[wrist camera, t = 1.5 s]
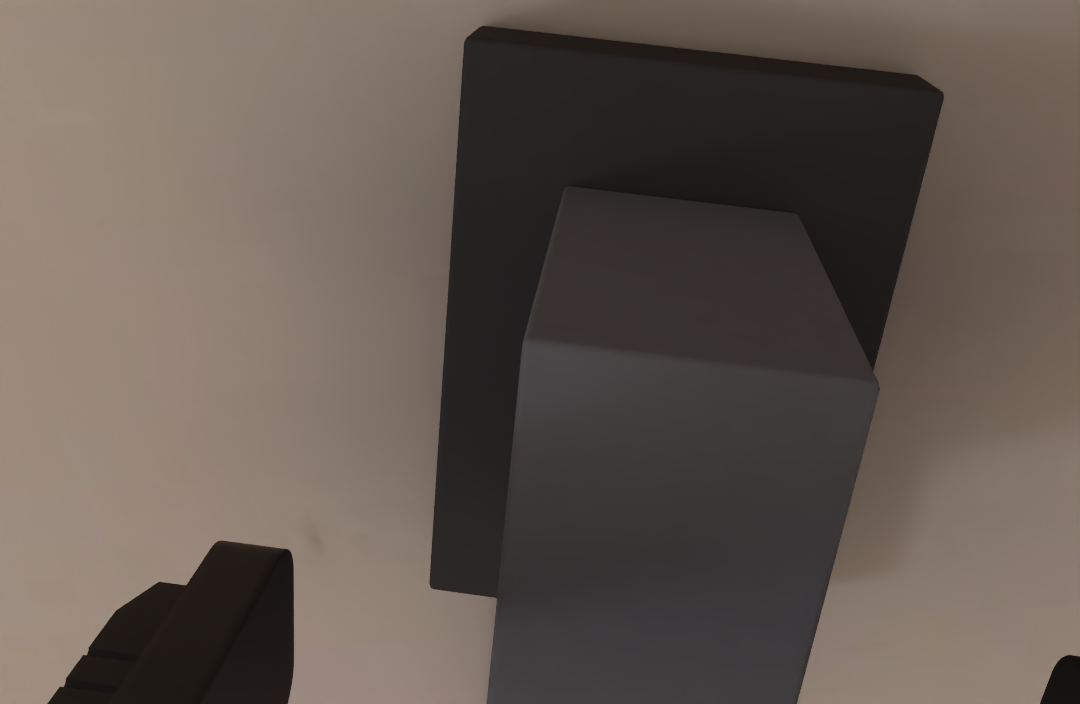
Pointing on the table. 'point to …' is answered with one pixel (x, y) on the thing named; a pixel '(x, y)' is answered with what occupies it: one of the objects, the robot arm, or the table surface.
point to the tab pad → (650, 146)
